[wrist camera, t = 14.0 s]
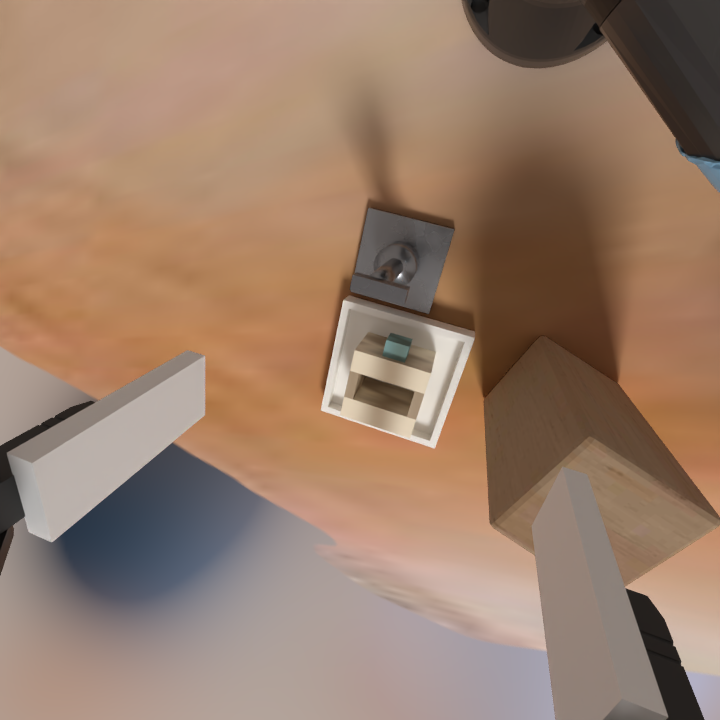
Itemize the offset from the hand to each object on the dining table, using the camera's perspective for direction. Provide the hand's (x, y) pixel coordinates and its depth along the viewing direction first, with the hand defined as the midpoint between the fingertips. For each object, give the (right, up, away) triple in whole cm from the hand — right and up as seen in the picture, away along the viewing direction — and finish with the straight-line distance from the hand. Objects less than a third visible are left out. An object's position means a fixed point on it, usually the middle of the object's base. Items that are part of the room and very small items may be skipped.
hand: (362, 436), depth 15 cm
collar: (+4, +1, +33) cm, 33 cm away
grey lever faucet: (+4, +13, +29) cm, 32 cm away
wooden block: (+21, -1, +30) cm, 37 cm away
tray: (+4, +2, +34) cm, 34 cm away
